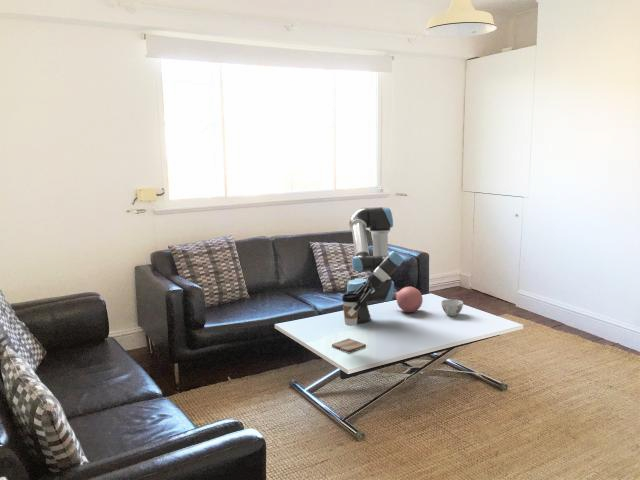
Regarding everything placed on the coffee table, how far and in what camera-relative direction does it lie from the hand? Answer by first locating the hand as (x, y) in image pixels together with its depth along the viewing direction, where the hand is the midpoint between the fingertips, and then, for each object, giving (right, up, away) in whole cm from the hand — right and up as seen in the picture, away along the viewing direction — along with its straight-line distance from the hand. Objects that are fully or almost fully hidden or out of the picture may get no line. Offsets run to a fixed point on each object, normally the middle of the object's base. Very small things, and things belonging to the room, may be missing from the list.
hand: (347, 311), depth 266 cm
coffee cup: (+2, -6, +2) cm, 7 cm away
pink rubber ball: (+39, -8, +60) cm, 72 cm away
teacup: (+64, -9, +50) cm, 81 cm away
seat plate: (+1, -18, +4) cm, 18 cm away
